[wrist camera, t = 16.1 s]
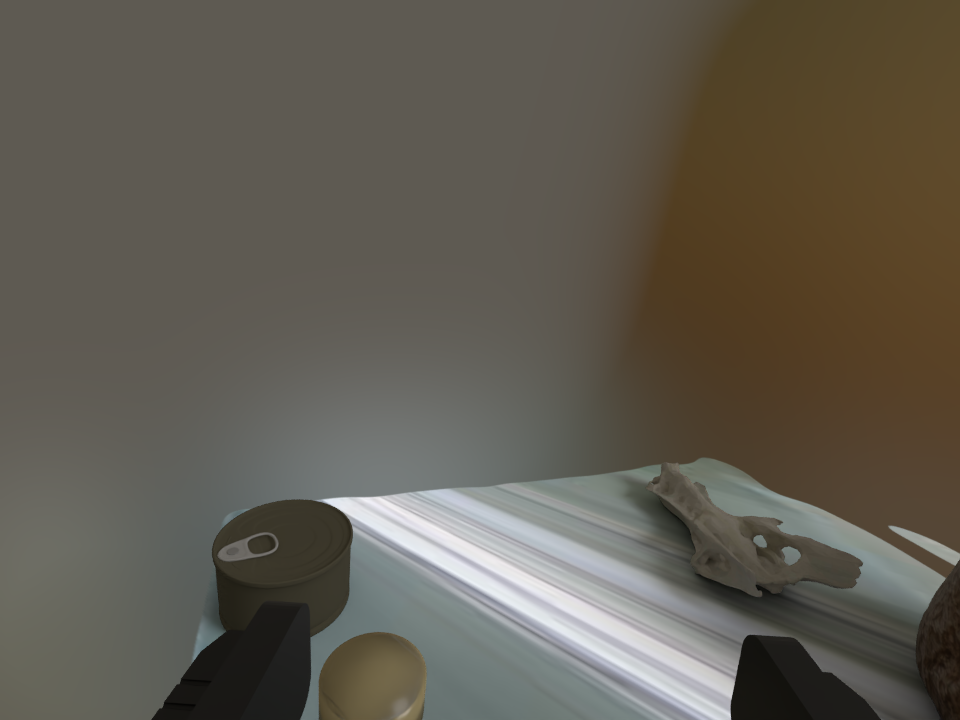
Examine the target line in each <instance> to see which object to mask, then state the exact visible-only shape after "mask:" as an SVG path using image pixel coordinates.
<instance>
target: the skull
mask: <svg viewBox="0 0 960 720" xmlns="http://www.w3.org/2000/svg"><path fill="white" fill-rule="evenodd" d="M651 483H653V484H654V485H652V484H651ZM646 489H647V490H650V491H652V492H654V493H655V494H657V496H658V497H659V499H660V500H661V502H662V503H663V505H664V506H665V507H666V508H668V509H669V510H670V511H671V512H672V513H673V514H675V515H676V516H677V517H678V518H679V519H681V520H682V521H683V522H684V523H685V525H686V526H687V527H688V528H689V530H690V533H691V538H692V541H693V543H694V546H695V550H696V553H695V554H694V555H693V556H692V558H691V566H692V567H693V568H694V569H695V572H696V574H701V575H702V576H704V577H706V578H709V579H712V580H714V581H717V582H720V583H722V584H724V585H727V586H730V587H733V588H737V589H741V590H742V591H744V592H746V593H748V594H750V595H752V596H756V597H762V591H760V590H759V591H758V590H757V588H756V585H760V586H761V587H763V588H765V589H767V590H769V591H770V592H771V593H780V592H781V591H782V589H783V587H784V586H786V585H788V584H791V585H795V584H796V583H797V582H798V581H811V582H817V583H821V584H824V585H827V586H830V587H834V588H840V589H846V588H853V587H854V586H855V585H856V584H857V582H856V580H855V579H857V578H858V577H859V576H860V574H861V572H860V569H859V567H860V566H862V565H863V563H862V561H861V560H860V559H858V558H856V557H854V556H853V555H851V554H848V553H846V552H843V551H840V550H837V549H834V548H831V547H830V546H827V545H825V544H822V543H820V542H817V541H815V540H813V539H811V538H807V537H802V536H798V535H789V534H786V533H783V532H781V531H780V530H779V528H778V527H777V525H780V524H781V523H783V522H782V521H780V520H778V519H775V518H767V517H755V516H746V517H737V516H732V515H730V514H727V513H726V512H724V511H722V510H721V509H719V508H718V507H716V506H715V505H714V504H713V503H712V501H711V499H710V498H709V496H708V493H707V491H706V488H705V486H703V485H702V484H700V483H698V482H696V483H694V484H693V483H692V482H691V481H690V480H689V479H688V478H687V477H686V476H684V475H682V474H681V473H680V470H679V464H678V463H675V464H670V463H667V462H665V463H662V465H661V475H660V476H659V477H655V478H654V479H653V480H652V481H650V482H649V484H648V486H647V487H646ZM757 535H762V536H763V537H764V539H765V541H766V542H767V548H762V547H759V546H758V545H756V544H755V543H754V542H753V538H754V537H755V536H757ZM788 546H790V547H793V548H795V549H797V550H798V551H799V552H800V554H801V557H800V559H799V560H798V562H796V563H795V564H793V565H791V566H789V565H787V564H786V563H785V562H784V559H785V556H784V554H783V552H782V550H781V549H783V548H784V547H788Z"/></svg>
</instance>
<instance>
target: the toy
mask: <svg viewBox="0 0 960 720" xmlns="http://www.w3.org/2000/svg"><path fill="white" fill-rule="evenodd" d="M916 663H917V666H918V670H919V673H920V676H921V678H922V680H923V682H924V685H925V687H926V689H927V691H928V693H929V695H930V697H931V699H932V700H933V702H934V704H935V706H936V708H937V711H938V713H939V715H940V717H941V719H942V720H960V560H959V561H958V563H957V564H956V566H955V567H954V569H953V571H952V572H951V573H950V574H949V576H948V577H947V578H946V579H945V581H944V582H943V583H942V585H941V586H940V587H939V589H938V590H937V591H936V593H935V595H934V597H933V598H932V600H931V602H930V604H929V607H928V608H927V610H926V611H925V612H924V614H923V617H922V620H921V622H920V625H919V629H918V634H917V640H916Z"/></svg>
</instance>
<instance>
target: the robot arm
mask: <svg viewBox="0 0 960 720" xmlns="http://www.w3.org/2000/svg"><path fill="white" fill-rule="evenodd" d="M310 679H311V646H310V610H309V606H308V604H307V603H297V602H283V601H265V602H264V603H263V604H262V605H261V606H260V608H259V609H258V611H257V612H256V614H255V615H254V617H253V618H252V620H251V621H250V623H249V624H248V626H247V627H246V629H245V631H241V630H228V631H227V632H225V633H224V634H223V635H221V636H220V637H219V638H218V639H216V640H215V641H214V642H212V643H211V644H210V645H209V646H207V647H206V648H205V649H203V650H202V651H201V652H200V653H199V655H198V656H197V658H196V659H195V660H194V662H193V663H192V664H191V666H190V667H189V669H188V670H187V671H186V673H185V674H184V676H183V677H182V678H181V682H180V684H178V685H176V687H175V688H174V689H173V691H172V692H171V694H170V695H169V696H168V698H167V699H166V700H165V702H164V706H163V708H162V709H159V710H158V711H157V713H156V714H155V716H154V717H153V718H152V720H300V718H301V716H302V713H303V711H304V708H305V704H306V701H307V697H308V692H309V686H310ZM731 720H881V719H880V718H879V717H878V715H877V714H876V713H875V712H874V711H873V709H872V708H871V707H870V706H869V704H868V703H867V702H866V701H865V700H864V699H863V698H862V697H861V696H859V695H858V694H857V693H856V692H854V691H853V690H852V689H851V688H850V687H848V686H847V685H846V684H845V683H843V682H842V681H841V680H840V679H838V678H837V677H836V676H835V675H833V674H832V673H827V672H822V671H821V669H820V668H819V667H818V666H817V664H816V663H815V662H814V660H813V659H812V658H811V656H810V655H809V654H808V653H807V651H806V650H805V649H804V647H803V646H802V645H801V644H800V643H799V642H798V641H797V640H796V639H794V638H790V637H776V636H762V635H748V636H747V637H746V638H745V639H744V642H743V645H742V650H741V655H740V660H739V665H738V670H737V675H736V680H735V685H734V690H733V695H732V700H731Z"/></svg>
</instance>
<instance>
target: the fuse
mask: <svg viewBox="0 0 960 720" xmlns="http://www.w3.org/2000/svg"><path fill="white" fill-rule="evenodd" d="M426 676H427V673H426V665H425V662H424V659H423V657H422V655H421V653H420V652H419V650H418V649H417V648H416V647H415V646H414V645H413V644H412V643H411V642H409V641H408V640H406V639H405V638H403V637H400V636H398V635H395V634H391V633H385V632H374V633H367V634H363V635H359V636H356V637H354V638H352V639H350V640H348V641H346V642H344V643H343V644H341V645H340V646H339V647H338V648H336V649H335V650H334V651H333V652H332V654H331V655H330V656H329V657H328V659H327V660H326V662H325V663H324V666H323V668H322V670H321V673H320V677H319V720H422V718H423V713H424V701H425V688H426Z"/></svg>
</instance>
